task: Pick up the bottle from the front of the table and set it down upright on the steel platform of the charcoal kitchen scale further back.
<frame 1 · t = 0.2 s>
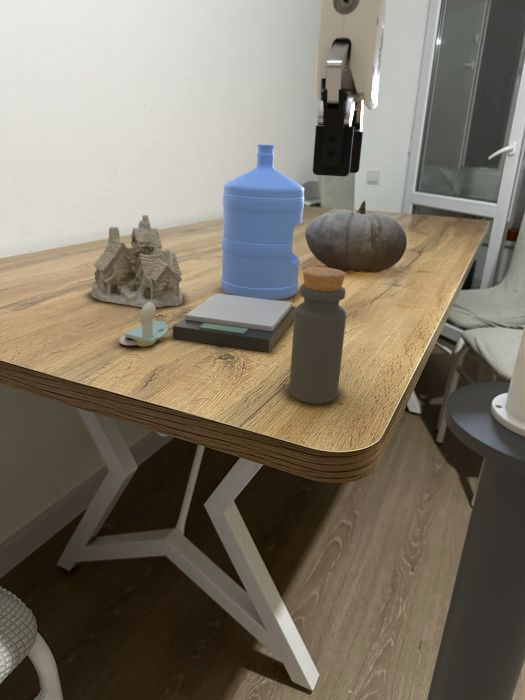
hand: (337, 173, 50), 25 cm above the table, tool pointing down, fingers open, 9 cm apart
gourd: (350, 269, 131), on the table
pacifier: (142, 343, 76), on the table
water jug: (259, 292, 106), on the table
bottle: (312, 394, 63), on the table
ceramic cottage: (137, 298, 98), on the table
scale: (238, 327, 84), on the table
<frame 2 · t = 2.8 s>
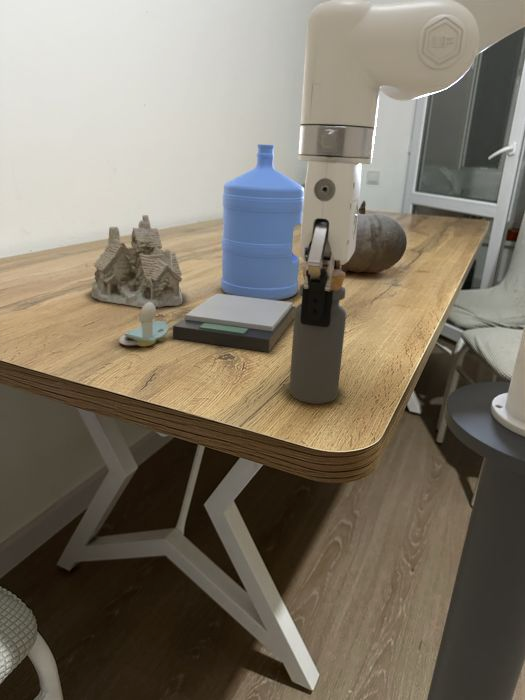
hand: (320, 315, 59), 10 cm above the table, tool pointing down, fingers closed on bottle, 5 cm apart
bottle: (312, 394, 63), on the table, touching gripper
everything else where it was.
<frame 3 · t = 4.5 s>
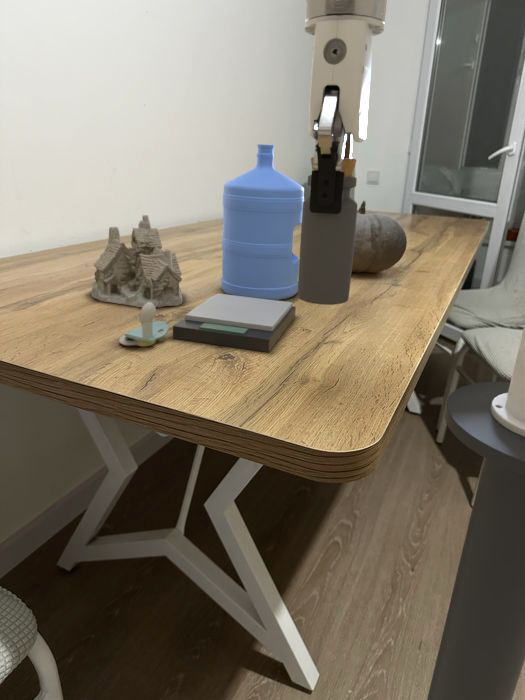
hand: (329, 208, 55), 22 cm above the table, tool pointing down, fingers closed on bottle, 5 cm apart
bottle: (322, 299, 59), point 12 cm above the table, touching gripper
everything else where it was.
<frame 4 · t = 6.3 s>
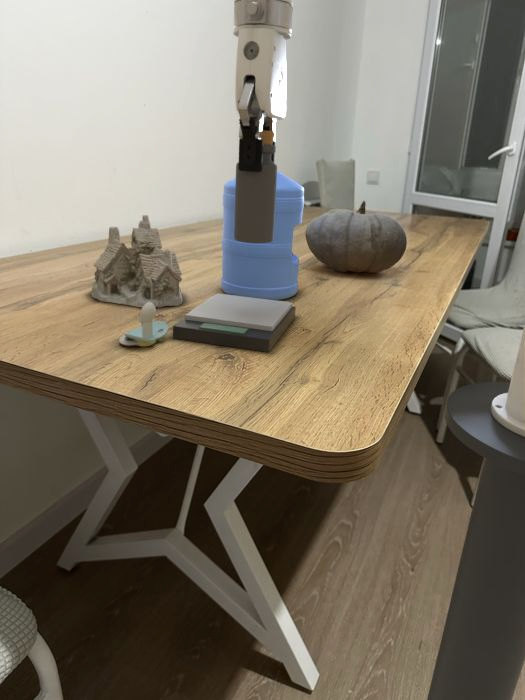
hand: (256, 169, 73), 25 cm above the table, tool pointing down, fingers closed on bottle, 5 cm apart
bottle: (253, 241, 77), point 14 cm above the table, touching gripper
everything else where it was.
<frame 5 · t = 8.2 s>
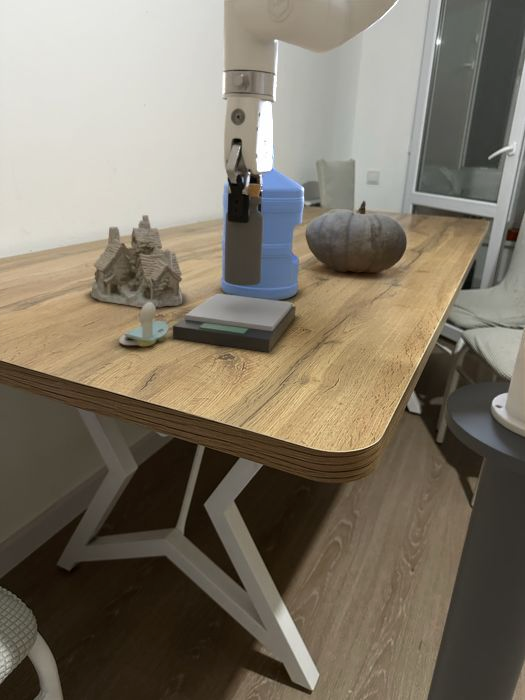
hand: (244, 218, 79), 17 cm above the table, tool pointing down, fingers closed on bottle, 5 cm apart
bottle: (242, 282, 83), point 7 cm above the table, touching gripper
everything else where it was.
when the fingers open (13 cm above the table, at t = 9.8 s): bottle stays where it is, resting on scale.
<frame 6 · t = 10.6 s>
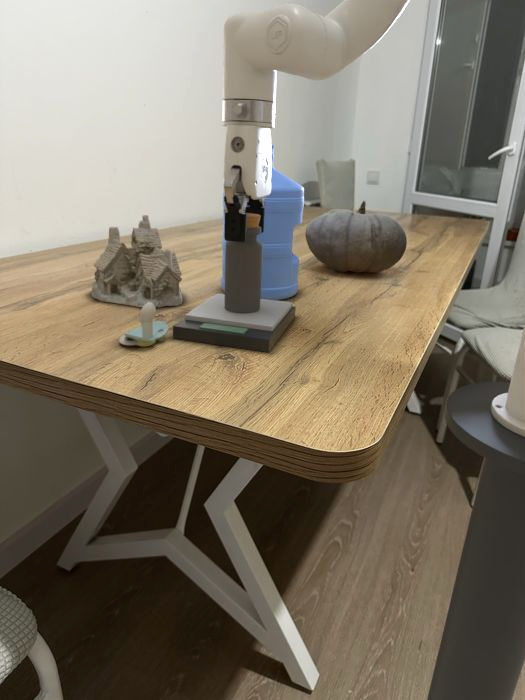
hand: (245, 236, 80), 14 cm above the table, tool pointing down, fingers open, 9 cm apart
bottle: (242, 309, 85), point 3 cm above the table, touching scale
everything else where it was.
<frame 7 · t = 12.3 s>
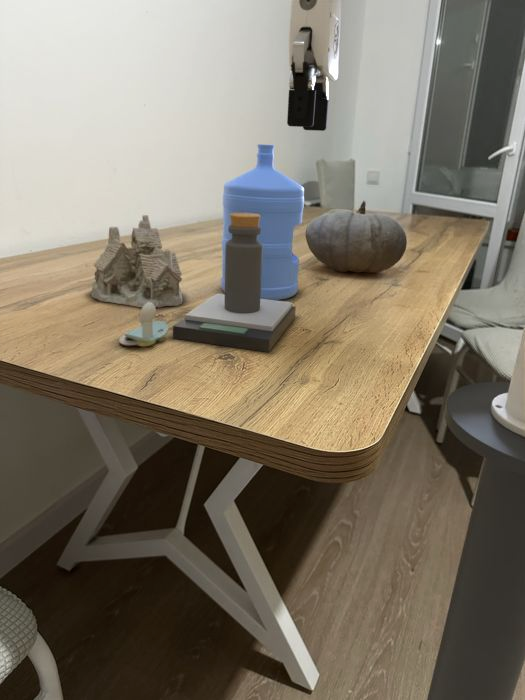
hand: (307, 128, 68), 30 cm above the table, tool pointing down, fingers open, 9 cm apart
nothing on the table moved.
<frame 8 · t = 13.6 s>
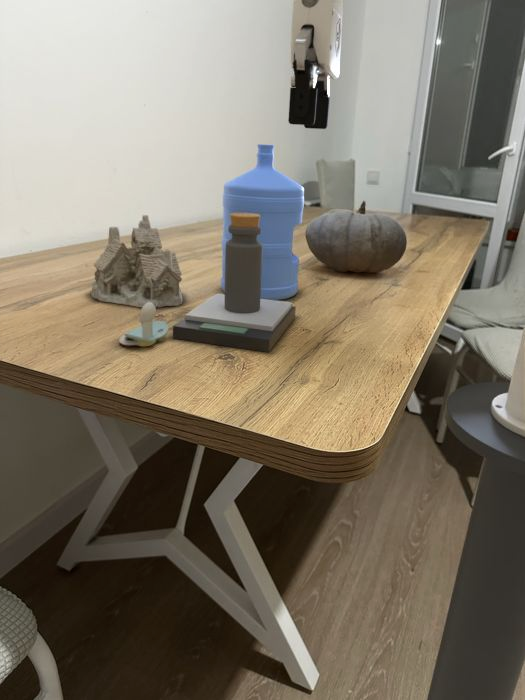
hand: (308, 126, 67), 30 cm above the table, tool pointing down, fingers open, 9 cm apart
nothing on the table moved.
at the end: bottle inside the target area on the scale (0.1 cm from its centre), point 2.6 cm above the scale's base; bottle tilted 0°; the gripper is holding nothing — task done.
